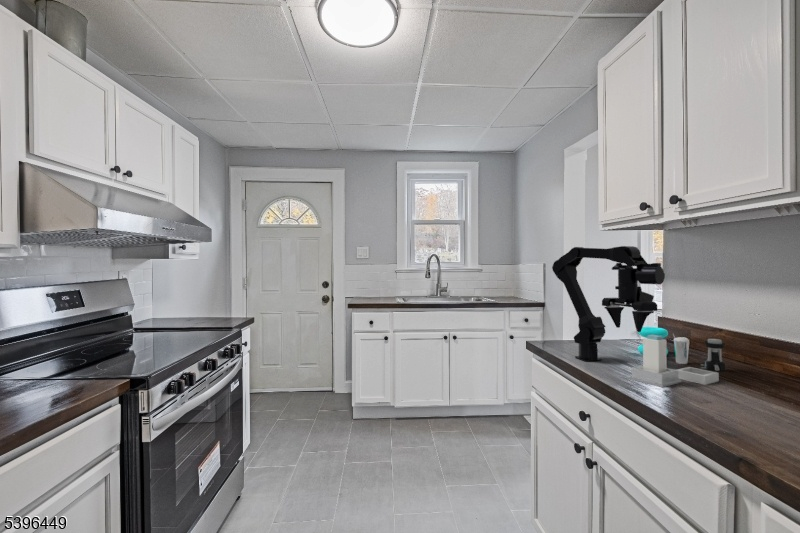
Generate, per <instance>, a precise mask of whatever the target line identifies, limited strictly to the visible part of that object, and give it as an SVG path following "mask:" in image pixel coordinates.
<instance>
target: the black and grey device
mask: <svg viewBox="0 0 800 533" xmlns="http://www.w3.org/2000/svg"><path fill="white" fill-rule="evenodd" d="M704 344H705V347H706V348H707V359H706V361H705V362H704V367H703V364H700V368H699V369H705V370H707V371H713V372H717V371H718V372H725V371H726V363H725V362H723V359H722V353H723V352H722V350H724V349H725V345H726V343H725V342H723V341H722V339H719V338H707V340H706V341H704Z"/></svg>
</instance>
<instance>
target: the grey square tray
mask: <svg viewBox="0 0 800 533" xmlns="http://www.w3.org/2000/svg"><path fill="white" fill-rule="evenodd" d="M676 370H678V371H679V380H681V381H687V382H691V383H695V384H696V383H697V384H700V385H704V386H706V385H710V384H713V383H718V382H719V380H720V378H719V377H720V374H719V372H717V371H713V370H707V369H703V368H696V367H692V366H686V367H682V368H678V369H676Z"/></svg>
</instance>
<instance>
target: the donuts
mask: <svg viewBox="0 0 800 533" xmlns="http://www.w3.org/2000/svg"><path fill="white" fill-rule="evenodd" d="M637 333H638V334H639V335H640V336H641V337H643V338H647V335H658V336H662V339H665V338H666V337H668V335H669V332H668V330H667V329H665V328H662V327H656V326H643V327H642V330H641V332H637ZM637 351H638V352H639V354H642V355H643V343H642V344H639V346H638V347H637ZM668 354H669V350H668V347H666V356H667V355H668Z"/></svg>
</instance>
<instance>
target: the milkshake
mask: <svg viewBox="0 0 800 533" xmlns="http://www.w3.org/2000/svg"><path fill="white" fill-rule="evenodd" d="M672 336H673V344H674V345H673V346H674V347H673V348H674V354H675V355H674V356H675V364H679V365H687V364H688V360H689V359H688V358H689V347H690V339H689V338H687V337H685V336H684V337H683V336H682V337H680V336H678V337H676V336H675V334H674V333H672Z"/></svg>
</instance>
